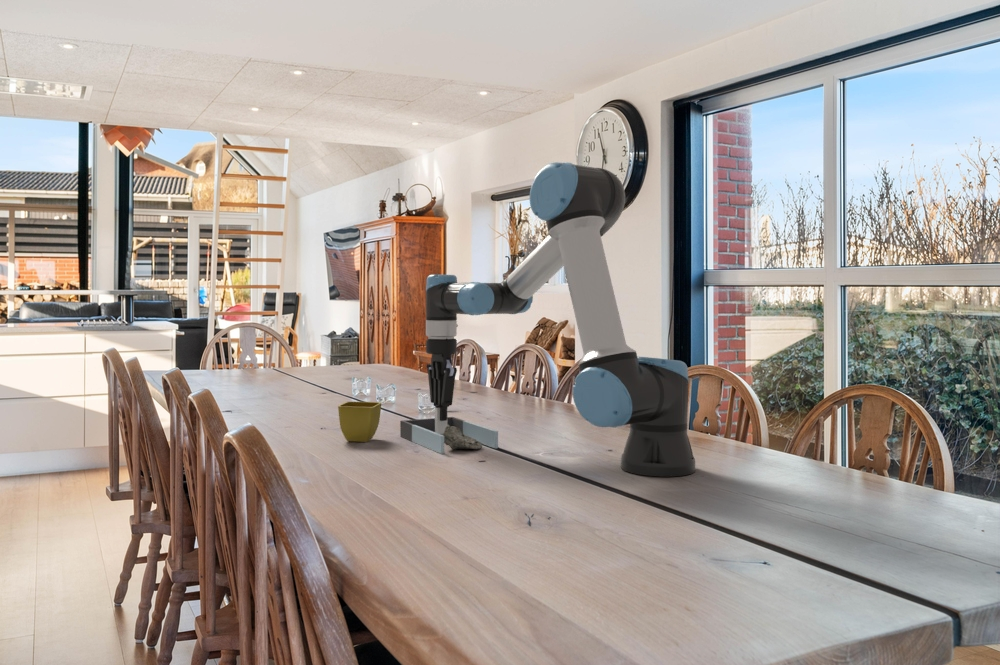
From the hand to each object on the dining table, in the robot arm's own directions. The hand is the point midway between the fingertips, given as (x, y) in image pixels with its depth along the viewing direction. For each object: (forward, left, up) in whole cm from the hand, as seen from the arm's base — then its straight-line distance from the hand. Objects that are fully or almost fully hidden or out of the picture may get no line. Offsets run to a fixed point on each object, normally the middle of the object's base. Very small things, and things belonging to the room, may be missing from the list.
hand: (441, 433), depth 202 cm
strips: (-7, 0, -2) cm, 8 cm away
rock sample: (-12, 0, -2) cm, 12 cm away
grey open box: (+5, 0, -2) cm, 5 cm away
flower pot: (+8, +18, -2) cm, 20 cm away
